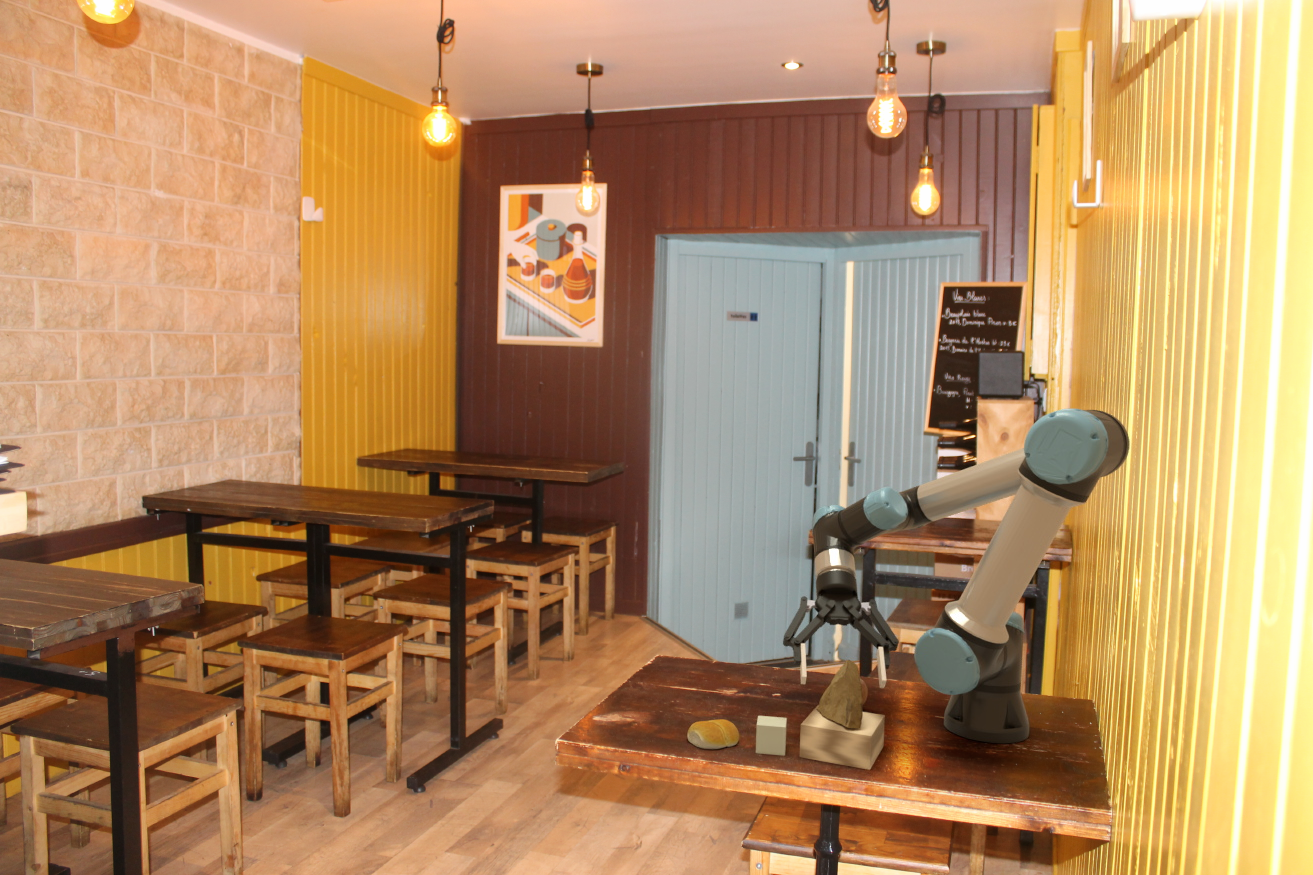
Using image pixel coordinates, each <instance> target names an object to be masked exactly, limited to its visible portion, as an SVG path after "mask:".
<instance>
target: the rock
mask: <svg viewBox="0 0 1313 875" xmlns="http://www.w3.org/2000/svg"><path fill="white" fill-rule="evenodd" d="M859 669H860V668H859V667H858V664H857V663H855V662H854V661H852V660H850V659H846V660H845V662H844V663H843V664H842V666H841V667H840V668H839V669H838V671H837V672H836V673H835V674H834V677H833V678H832V680H831V681H830V684H829V685H828V687H826V689H825V691H824V692H823V694H822V696H821V697H820V699H819V704H818V705H819V706H818V705H817V706H818V708H817V710H819V711H820V712H821V714H822V715H823V716H825V717H826V718H828V719H830V720H833V721H835V722H836V723H839V724H842V725H843V726H845V727H847V728H855V729H860V727H861V723H862V722H861V720H862V717H863V712H864V711H863V706H862V705H864V704H863V699H862V685H861V682H860V679H861V676H860V670H859Z"/></svg>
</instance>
